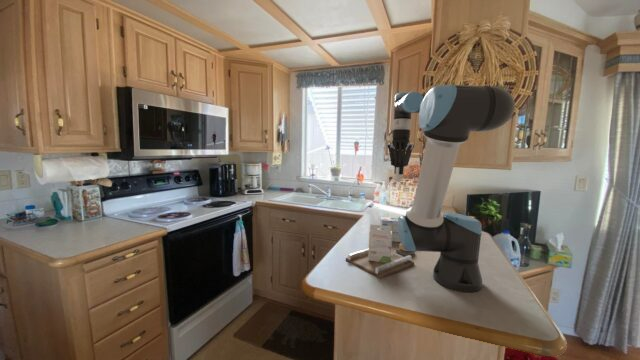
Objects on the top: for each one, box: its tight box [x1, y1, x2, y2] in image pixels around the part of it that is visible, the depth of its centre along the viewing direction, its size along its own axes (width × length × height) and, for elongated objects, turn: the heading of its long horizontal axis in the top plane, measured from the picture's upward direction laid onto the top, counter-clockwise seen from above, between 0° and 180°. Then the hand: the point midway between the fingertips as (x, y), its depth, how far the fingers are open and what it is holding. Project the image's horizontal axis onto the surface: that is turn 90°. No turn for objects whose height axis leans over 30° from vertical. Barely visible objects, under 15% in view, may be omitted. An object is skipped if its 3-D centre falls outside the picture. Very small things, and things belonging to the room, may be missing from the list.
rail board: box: [345, 252, 415, 279], centre depth 105 cm, size 18×20×1 cm
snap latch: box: [398, 243, 408, 251], centre depth 115 cm, size 4×4×2 cm
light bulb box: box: [379, 216, 401, 243], centre depth 132 cm, size 11×7×11 cm, turn 84°
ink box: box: [368, 223, 393, 263], centre depth 104 cm, size 9×5×15 cm, turn 70°
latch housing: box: [395, 247, 416, 257], centre depth 115 cm, size 6×6×2 cm
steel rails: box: [347, 247, 413, 274], centre depth 105 cm, size 15×20×2 cm
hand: (398, 181), depth 121 cm, fingers closed
